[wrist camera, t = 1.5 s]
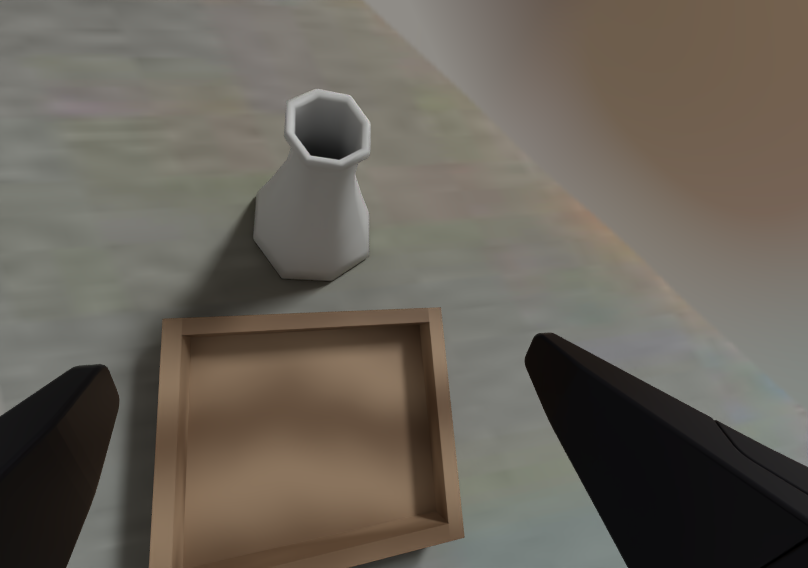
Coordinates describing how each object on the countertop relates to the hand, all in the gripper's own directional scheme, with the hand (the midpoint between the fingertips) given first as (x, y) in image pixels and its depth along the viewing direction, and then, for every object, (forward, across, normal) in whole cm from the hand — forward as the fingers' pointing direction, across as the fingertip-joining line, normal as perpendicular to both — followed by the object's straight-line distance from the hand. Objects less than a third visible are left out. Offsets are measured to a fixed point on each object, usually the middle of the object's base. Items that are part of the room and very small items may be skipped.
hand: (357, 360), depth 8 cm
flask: (+16, 0, +4) cm, 16 cm away
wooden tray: (+7, 0, +12) cm, 14 cm away
